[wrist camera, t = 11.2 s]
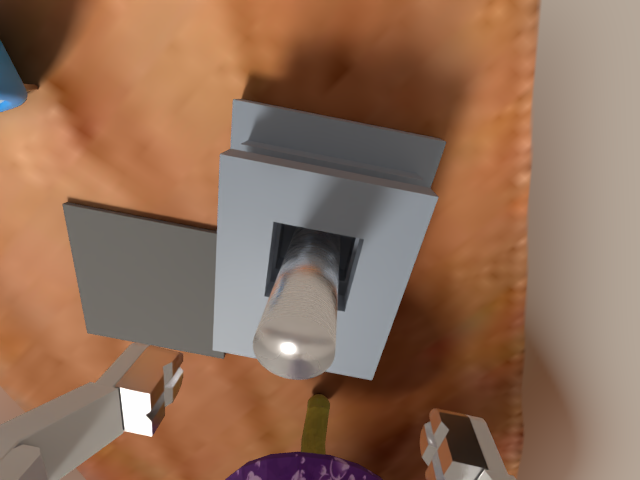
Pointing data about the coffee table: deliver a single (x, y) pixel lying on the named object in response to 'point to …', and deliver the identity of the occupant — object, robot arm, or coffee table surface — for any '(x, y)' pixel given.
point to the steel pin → (302, 308)
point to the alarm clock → (11, 83)
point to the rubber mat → (144, 278)
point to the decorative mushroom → (306, 455)
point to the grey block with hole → (320, 220)
